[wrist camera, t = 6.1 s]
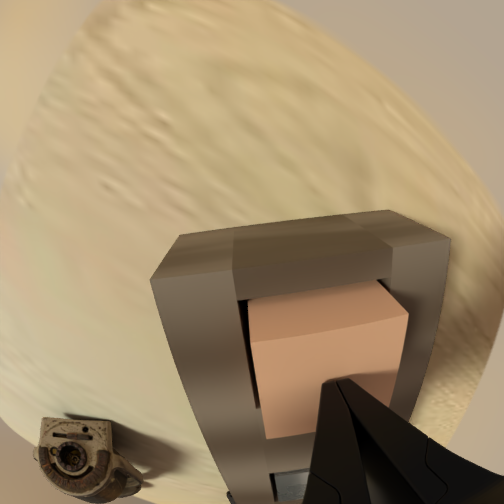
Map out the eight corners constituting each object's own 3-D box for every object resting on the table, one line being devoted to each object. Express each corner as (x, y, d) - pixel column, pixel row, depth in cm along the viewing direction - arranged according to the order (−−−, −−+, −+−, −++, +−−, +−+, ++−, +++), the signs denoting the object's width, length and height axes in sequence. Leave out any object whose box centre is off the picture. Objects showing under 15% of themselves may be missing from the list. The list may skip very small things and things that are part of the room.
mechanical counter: (168, 496, 13) (17, 461, 9) (143, 538, 16) (42, 517, 12) (158, 421, 20) (38, 388, 16) (137, 484, 22) (48, 463, 18)
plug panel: (361, 436, 19) (379, 484, 14) (237, 457, 19) (239, 509, 14) (388, 209, 13) (450, 238, 8) (179, 235, 13) (149, 279, 8)
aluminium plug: (330, 439, 18) (345, 489, 14) (272, 449, 18) (279, 502, 14) (334, 404, 17) (353, 461, 12) (267, 416, 17) (274, 477, 12)
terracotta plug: (349, 341, 13) (386, 413, 9) (258, 356, 13) (266, 439, 9) (352, 256, 12) (409, 313, 7) (245, 270, 12) (250, 342, 7)
